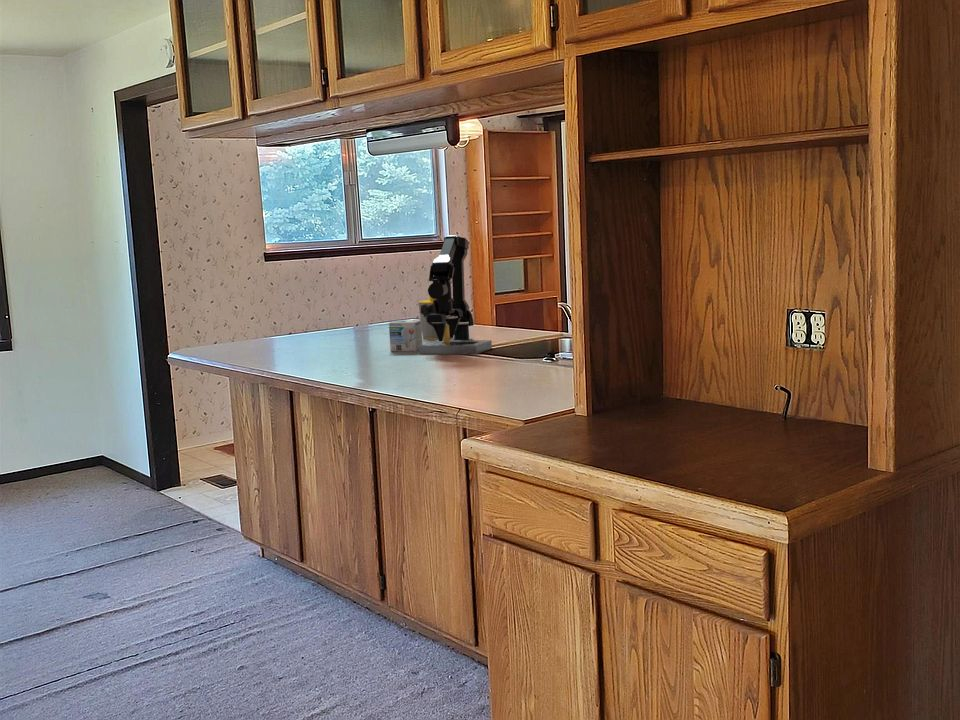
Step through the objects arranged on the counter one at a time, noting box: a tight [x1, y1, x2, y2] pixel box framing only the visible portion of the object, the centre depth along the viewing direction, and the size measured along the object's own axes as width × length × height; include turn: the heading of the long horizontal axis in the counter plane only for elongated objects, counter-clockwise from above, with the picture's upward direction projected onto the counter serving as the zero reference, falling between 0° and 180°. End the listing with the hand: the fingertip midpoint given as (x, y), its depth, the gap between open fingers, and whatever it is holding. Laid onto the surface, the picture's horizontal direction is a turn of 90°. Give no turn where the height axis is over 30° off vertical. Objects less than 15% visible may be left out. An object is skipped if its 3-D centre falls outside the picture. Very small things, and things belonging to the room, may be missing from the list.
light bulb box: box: [388, 319, 424, 352], centre depth 349 cm, size 11×7×11 cm, turn 73°
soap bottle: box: [418, 284, 448, 340], centre depth 381 cm, size 13×13×21 cm
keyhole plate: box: [419, 339, 493, 355], centre depth 340 cm, size 14×22×3 cm, turn 67°
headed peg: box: [443, 325, 451, 343], centre depth 341 cm, size 4×4×9 cm
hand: (446, 339), depth 341 cm, fingers open, 9 cm apart
